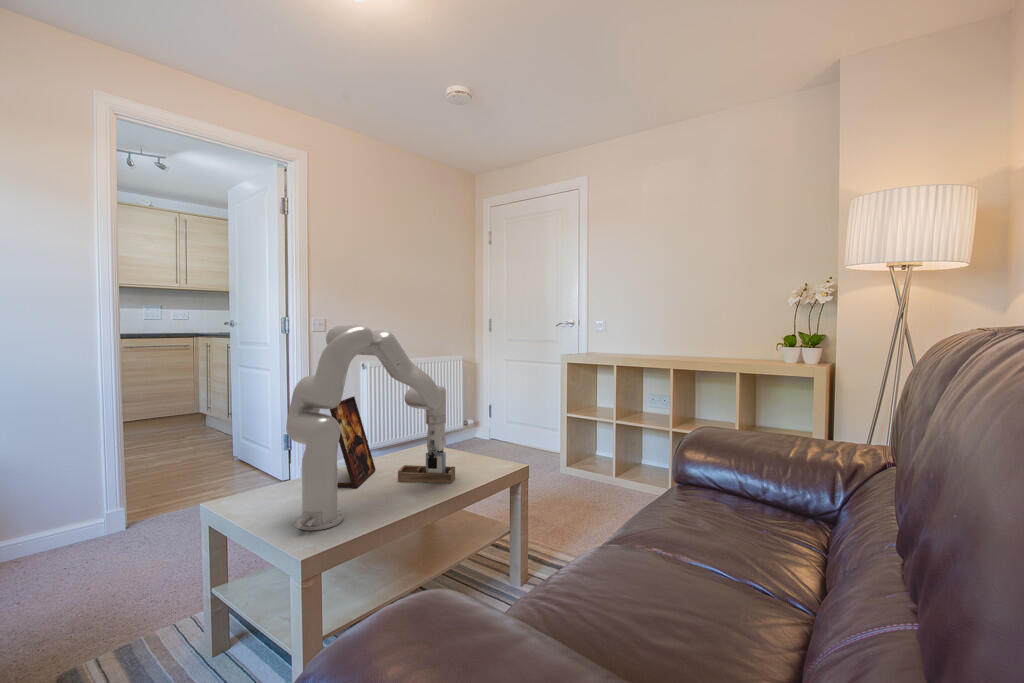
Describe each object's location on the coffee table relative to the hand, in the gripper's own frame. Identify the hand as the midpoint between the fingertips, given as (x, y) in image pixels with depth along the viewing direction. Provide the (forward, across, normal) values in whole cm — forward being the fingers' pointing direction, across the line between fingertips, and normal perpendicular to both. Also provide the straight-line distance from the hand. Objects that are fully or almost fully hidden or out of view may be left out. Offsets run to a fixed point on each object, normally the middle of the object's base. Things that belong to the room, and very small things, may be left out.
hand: (435, 464), depth 173 cm
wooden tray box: (+6, 0, +4) cm, 7 cm away
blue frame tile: (+5, 0, 0) cm, 5 cm away
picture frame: (+6, -2, +32) cm, 32 cm away
